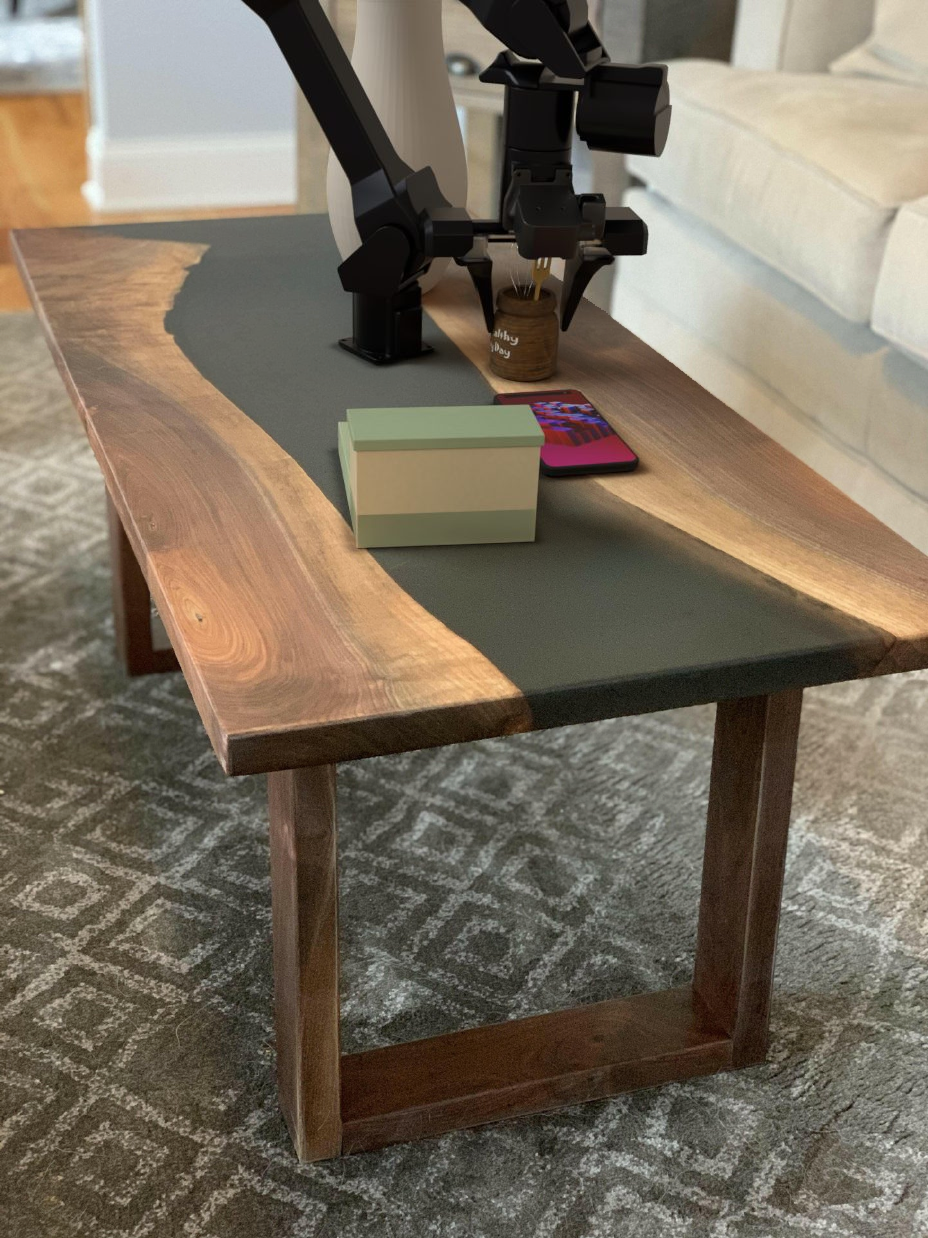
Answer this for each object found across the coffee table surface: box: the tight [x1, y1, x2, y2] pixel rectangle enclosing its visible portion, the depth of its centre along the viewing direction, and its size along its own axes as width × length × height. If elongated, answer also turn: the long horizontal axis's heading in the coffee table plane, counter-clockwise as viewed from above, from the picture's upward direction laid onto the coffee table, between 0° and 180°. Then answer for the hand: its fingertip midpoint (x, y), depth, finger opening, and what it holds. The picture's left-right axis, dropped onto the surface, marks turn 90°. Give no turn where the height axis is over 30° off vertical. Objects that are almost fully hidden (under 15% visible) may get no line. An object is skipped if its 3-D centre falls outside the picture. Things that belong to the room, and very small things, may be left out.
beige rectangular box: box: [337, 405, 545, 549], centre depth 99 cm, size 16×12×8 cm
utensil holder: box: [489, 243, 560, 382], centre depth 120 cm, size 6×6×12 cm
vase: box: [326, 0, 469, 295], centre depth 135 cm, size 14×14×30 cm
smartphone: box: [492, 388, 640, 477], centre depth 111 cm, size 8×1×15 cm
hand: (526, 331), depth 122 cm, fingers closed on utensil holder, 6 cm apart
